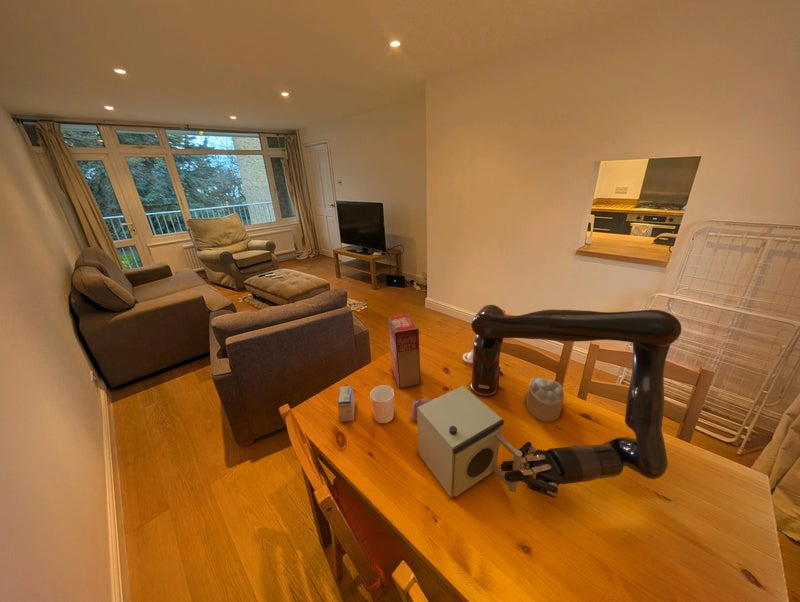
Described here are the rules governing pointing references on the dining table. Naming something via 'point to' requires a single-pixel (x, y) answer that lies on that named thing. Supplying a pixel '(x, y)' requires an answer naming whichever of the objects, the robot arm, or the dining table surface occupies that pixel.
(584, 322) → the robot arm
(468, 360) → the ring around a ball
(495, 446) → the washer door
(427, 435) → the washer
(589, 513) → the dining table surface
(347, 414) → the medicine box
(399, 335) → the food packaging
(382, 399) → the white cup
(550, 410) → the lumpy-topped squat cylinder
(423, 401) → the video game controller
